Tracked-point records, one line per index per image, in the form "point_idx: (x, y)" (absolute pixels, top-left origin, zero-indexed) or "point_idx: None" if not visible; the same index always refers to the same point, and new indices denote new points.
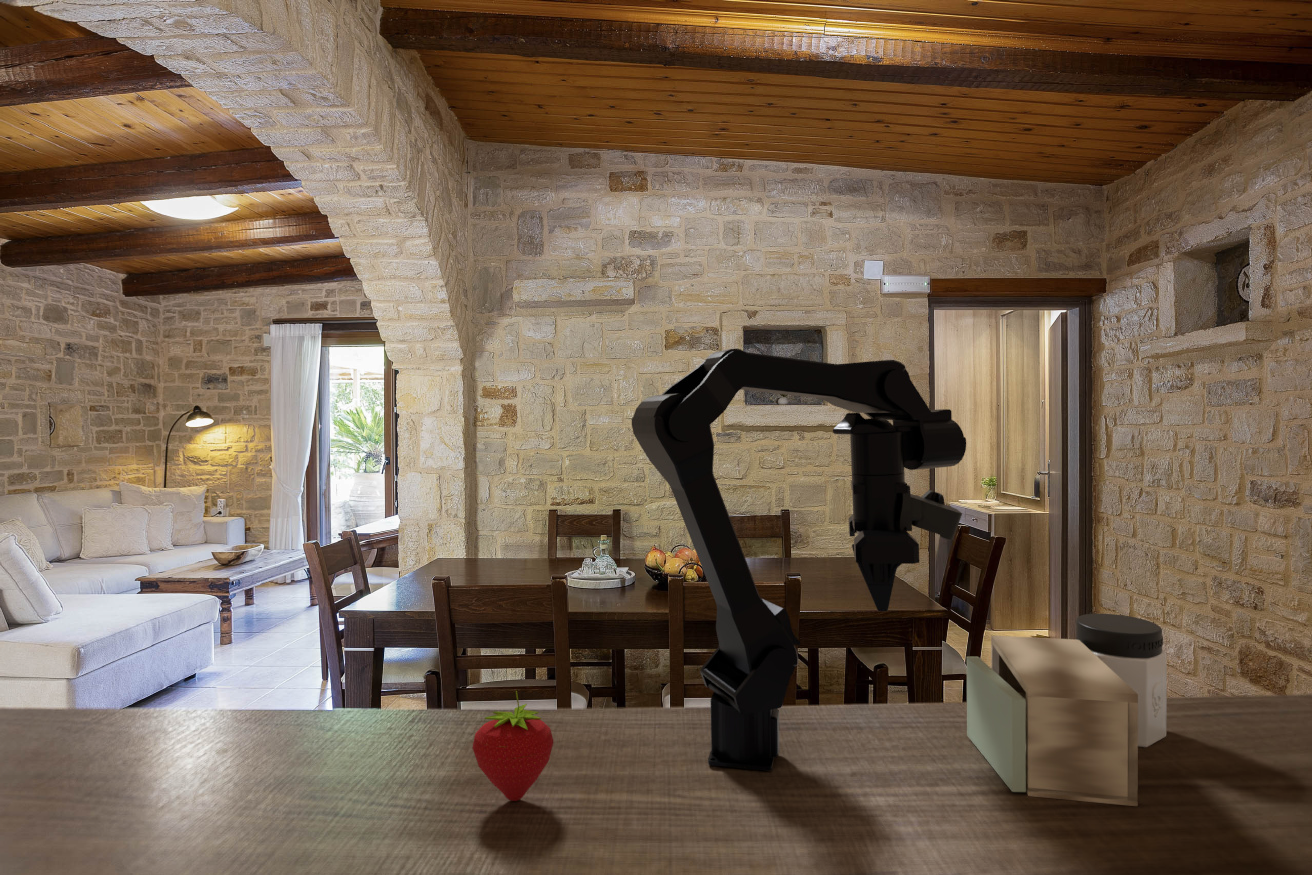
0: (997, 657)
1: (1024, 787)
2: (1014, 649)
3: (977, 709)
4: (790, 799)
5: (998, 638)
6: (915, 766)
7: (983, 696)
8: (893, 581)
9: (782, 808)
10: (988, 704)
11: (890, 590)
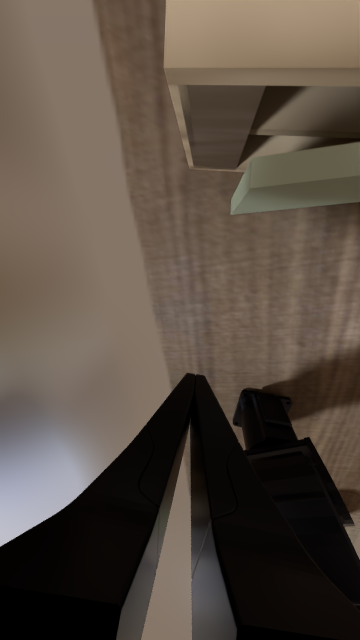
0: (243, 97)
1: None
2: (310, 6)
3: (283, 201)
4: (335, 391)
5: (191, 45)
6: (294, 289)
7: (329, 190)
8: (245, 456)
9: (347, 397)
10: (352, 188)
11: (227, 423)
